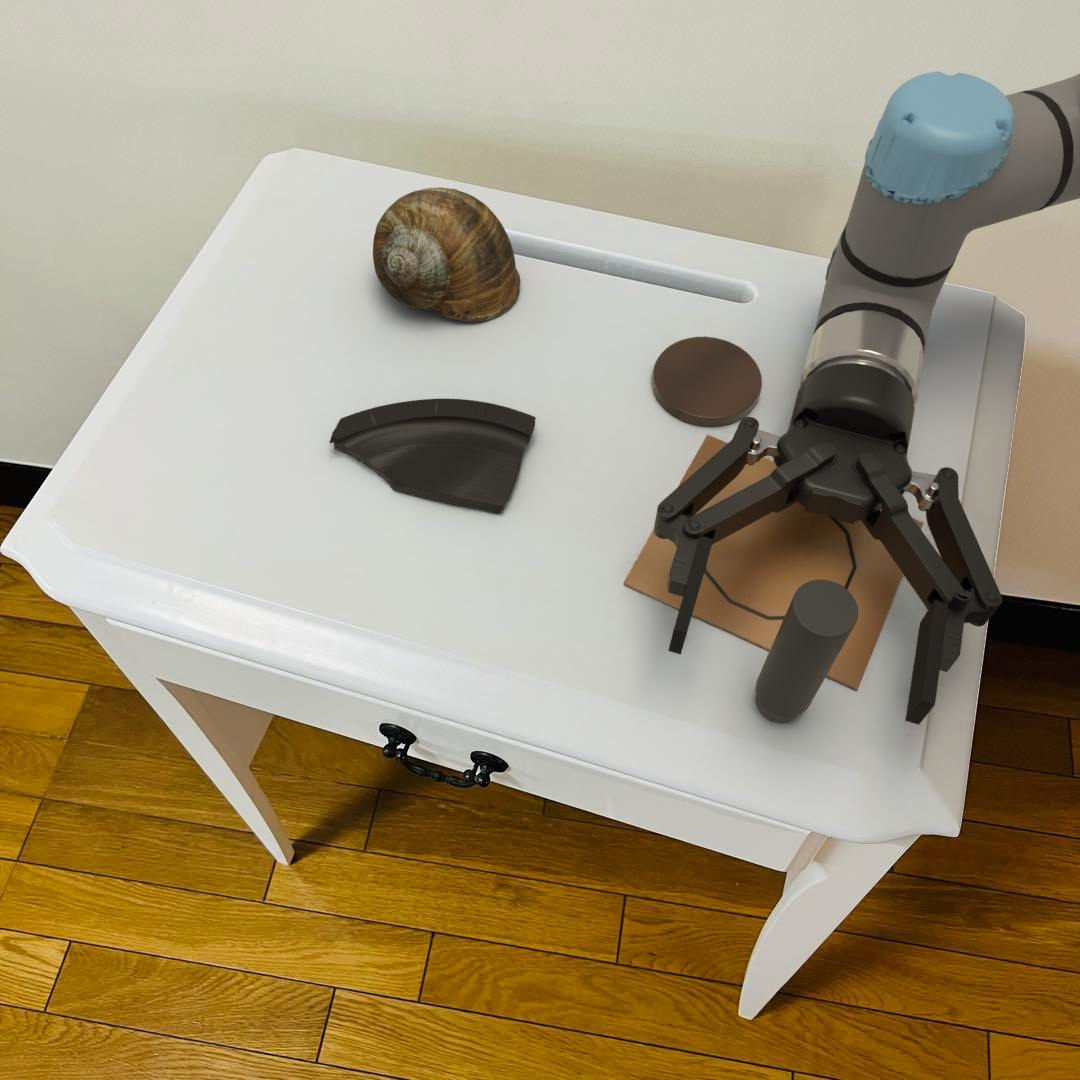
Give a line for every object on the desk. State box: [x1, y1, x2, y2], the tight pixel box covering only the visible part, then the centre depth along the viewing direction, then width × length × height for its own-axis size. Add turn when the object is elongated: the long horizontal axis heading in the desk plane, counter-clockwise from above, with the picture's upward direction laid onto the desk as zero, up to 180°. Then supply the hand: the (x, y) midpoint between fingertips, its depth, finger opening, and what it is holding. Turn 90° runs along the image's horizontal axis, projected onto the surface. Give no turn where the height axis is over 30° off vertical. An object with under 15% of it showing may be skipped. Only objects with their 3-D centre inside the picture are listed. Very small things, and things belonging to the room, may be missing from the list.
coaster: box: [651, 336, 763, 428], centre depth 77 cm, size 8×8×1 cm
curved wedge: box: [329, 398, 537, 514], centre depth 74 cm, size 8×14×2 cm, turn 73°
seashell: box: [372, 187, 521, 322], centre depth 80 cm, size 11×9×8 cm
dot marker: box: [755, 580, 858, 724], centre depth 59 cm, size 3×3×12 cm
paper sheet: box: [623, 434, 924, 691], centre depth 70 cm, size 16×14×1 cm
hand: (796, 677), depth 58 cm, fingers open, 13 cm apart
